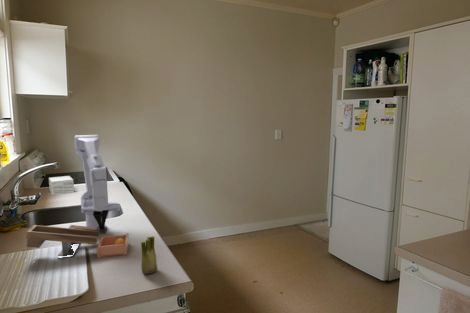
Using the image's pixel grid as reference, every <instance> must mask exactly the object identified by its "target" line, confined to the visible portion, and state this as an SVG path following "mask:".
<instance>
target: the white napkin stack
mask: <svg viewBox="0 0 470 313" xmlns="http://www.w3.org/2000/svg"><path fill="white" fill-rule="evenodd" d="M48 185H49V186H48V187H49V192H50V193H51V194H50V195H51V196H59V195H67V194H74V193H75V187H74V179H73V178H72V177H71V175H64V176H63V175H62V176H52V177H48Z"/></svg>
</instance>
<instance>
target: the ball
mask: <svg viewBox="0 0 470 313" xmlns="http://www.w3.org/2000/svg"><path fill="white" fill-rule="evenodd" d="M124 243H125V240H124V239H122V238H119V239H117V240H116V241H115V244H114V245H119V244H124Z"/></svg>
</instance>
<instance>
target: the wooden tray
mask: <svg viewBox="0 0 470 313" xmlns="http://www.w3.org/2000/svg"><path fill="white" fill-rule="evenodd" d="M107 232H108V226H106V227H105V228H104V229H99V226H97V227H87V226H86V225H84V226H83V225H77V224H75V225H74V224H70V226H69V227H62V226H61V227H60V226H47V225H41V224H40V225H37V224H34V225H32V226H31V227H30V228H29V229H28V230H27V231H26V237H25V239H26V240H27V241H26V242H27V243H26V248H38V249H39V248H40V247H41V246H43V244H44V243H45V242H46V241H49V242H51V241H52V242H61V243H62V242H72V243H81V244H86V245H94V246H95V245H96V244H97V243H98V240H99V238H100V235H106V234H107Z"/></svg>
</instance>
